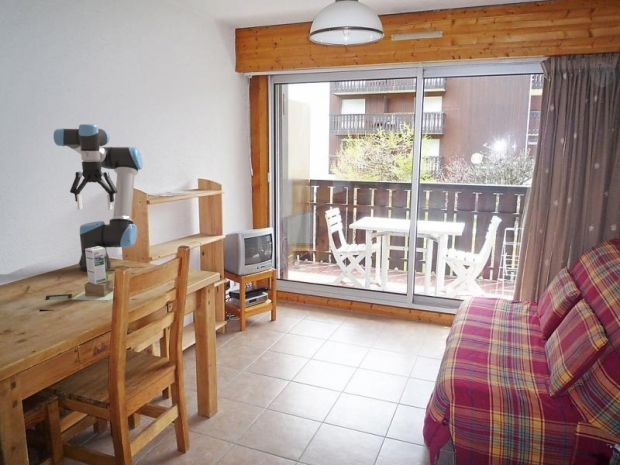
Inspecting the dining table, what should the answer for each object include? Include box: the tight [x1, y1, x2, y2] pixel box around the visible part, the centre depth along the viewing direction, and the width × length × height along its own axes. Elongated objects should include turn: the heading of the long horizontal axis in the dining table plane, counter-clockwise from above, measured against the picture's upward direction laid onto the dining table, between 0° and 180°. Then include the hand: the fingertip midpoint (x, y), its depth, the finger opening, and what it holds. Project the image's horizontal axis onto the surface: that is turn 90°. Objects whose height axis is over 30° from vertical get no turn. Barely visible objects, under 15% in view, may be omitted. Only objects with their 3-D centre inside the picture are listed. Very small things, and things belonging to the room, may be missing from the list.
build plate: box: [71, 290, 114, 301], centre depth 200 cm, size 16×16×2 cm
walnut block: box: [84, 278, 114, 297], centre depth 199 cm, size 8×8×5 cm
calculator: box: [38, 293, 73, 312], centre depth 189 cm, size 9×12×3 cm
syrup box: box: [85, 246, 109, 284], centre depth 197 cm, size 6×6×14 cm
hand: (95, 209), depth 212 cm, fingers open, 13 cm apart
